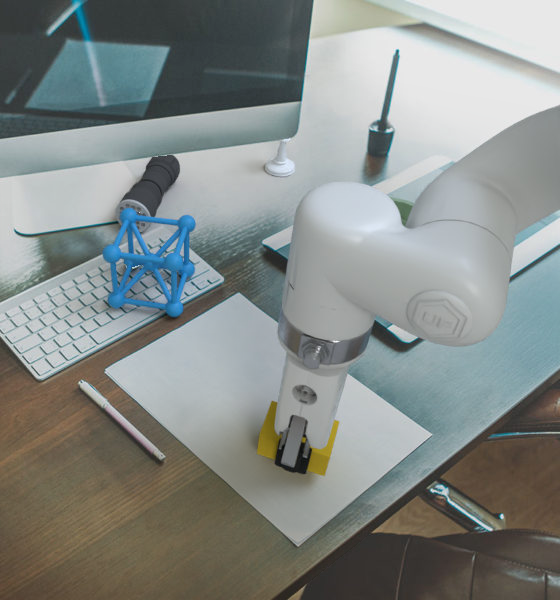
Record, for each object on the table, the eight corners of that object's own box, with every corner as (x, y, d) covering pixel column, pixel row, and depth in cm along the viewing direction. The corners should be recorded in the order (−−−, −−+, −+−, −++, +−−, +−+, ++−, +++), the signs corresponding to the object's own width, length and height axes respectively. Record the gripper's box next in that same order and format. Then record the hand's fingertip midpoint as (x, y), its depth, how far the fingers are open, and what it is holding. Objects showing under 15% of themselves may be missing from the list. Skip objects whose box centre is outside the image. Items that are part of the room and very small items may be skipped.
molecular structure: (181, 322, 82) (181, 262, 76) (105, 310, 84) (99, 251, 77) (196, 271, 89) (197, 212, 83) (126, 261, 91) (121, 203, 84)
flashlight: (151, 174, 107) (150, 145, 104) (182, 180, 106) (183, 150, 102) (116, 228, 97) (113, 198, 93) (150, 235, 95) (149, 205, 92)
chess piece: (279, 157, 110) (285, 102, 103) (301, 169, 107) (309, 113, 100) (258, 167, 108) (263, 112, 101) (280, 180, 105) (287, 124, 98)
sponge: (333, 441, 67) (339, 421, 65) (324, 476, 64) (330, 457, 62) (268, 420, 69) (271, 400, 67) (256, 453, 66) (259, 434, 64)
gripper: (350, 414, 48) (314, 532, 60) (386, 272, 59) (349, 396, 71) (251, 384, 50) (236, 504, 62) (304, 252, 61) (282, 377, 73)
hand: (297, 445), depth 67 cm, fingers closed on sponge, 4 cm apart
